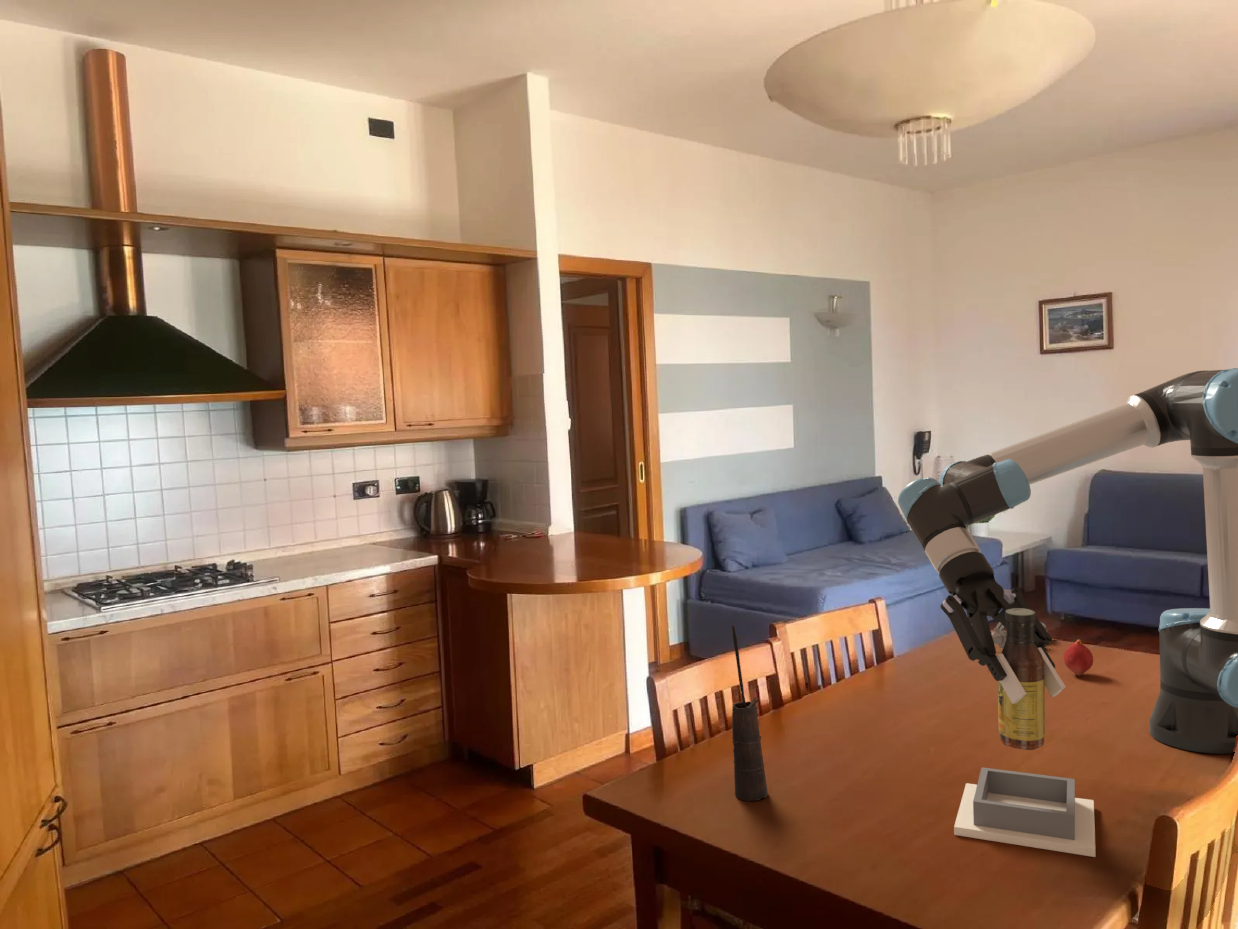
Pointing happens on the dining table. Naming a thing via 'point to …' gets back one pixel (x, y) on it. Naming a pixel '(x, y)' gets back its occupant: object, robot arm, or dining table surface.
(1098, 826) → the dining table surface
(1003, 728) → the sauce bottle
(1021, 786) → the bottle stand
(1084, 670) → the onion
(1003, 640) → the spaceship
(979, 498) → the robot arm
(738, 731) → the butter churn
